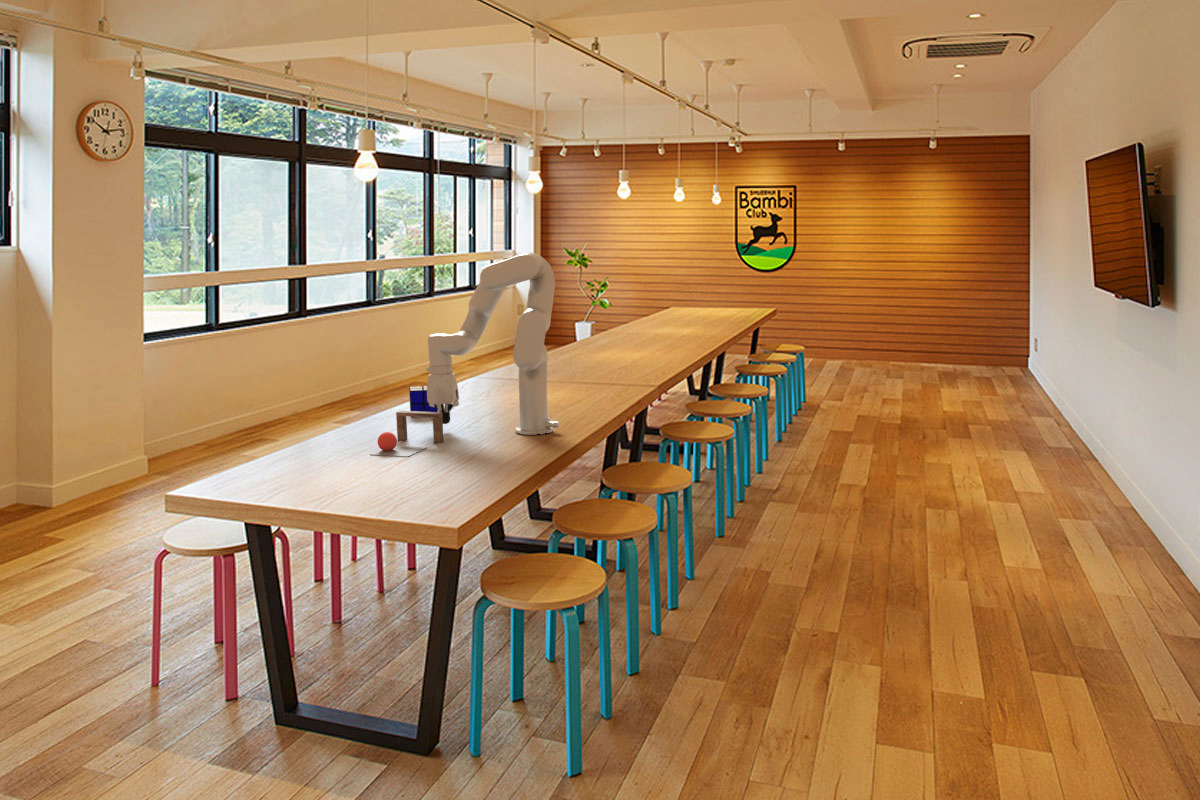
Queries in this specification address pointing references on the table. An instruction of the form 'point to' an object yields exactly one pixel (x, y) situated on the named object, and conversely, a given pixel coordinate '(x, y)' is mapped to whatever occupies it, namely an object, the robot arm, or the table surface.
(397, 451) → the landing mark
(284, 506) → the table surface
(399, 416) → the bridge
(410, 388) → the puzzle cube
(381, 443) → the ball
